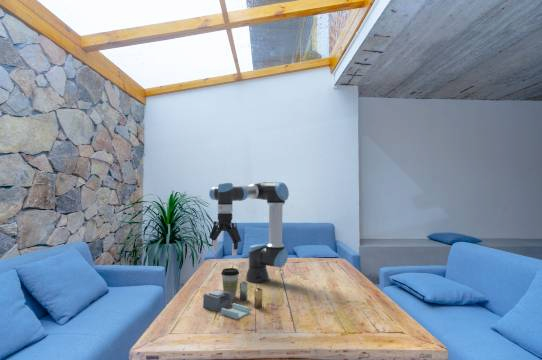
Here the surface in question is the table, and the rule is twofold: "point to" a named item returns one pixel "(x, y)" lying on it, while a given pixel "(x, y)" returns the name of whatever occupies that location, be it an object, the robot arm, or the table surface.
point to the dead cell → (243, 291)
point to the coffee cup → (230, 280)
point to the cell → (258, 298)
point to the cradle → (217, 301)
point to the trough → (236, 311)
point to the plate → (218, 293)
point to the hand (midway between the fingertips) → (224, 254)
